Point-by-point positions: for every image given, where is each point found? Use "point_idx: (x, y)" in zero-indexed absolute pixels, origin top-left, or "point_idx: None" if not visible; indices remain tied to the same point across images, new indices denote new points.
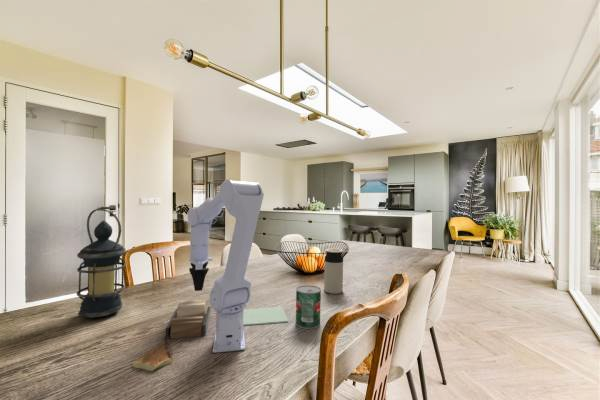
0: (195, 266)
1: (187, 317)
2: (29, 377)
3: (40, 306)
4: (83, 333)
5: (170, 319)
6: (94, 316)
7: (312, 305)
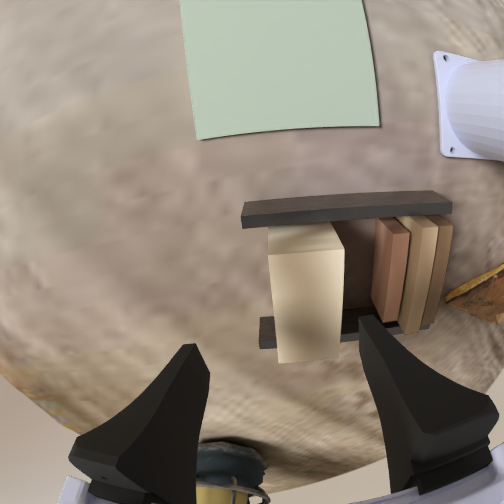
0: (184, 483)
1: (417, 288)
2: None
3: None
4: (323, 443)
5: None
6: (263, 458)
7: None
